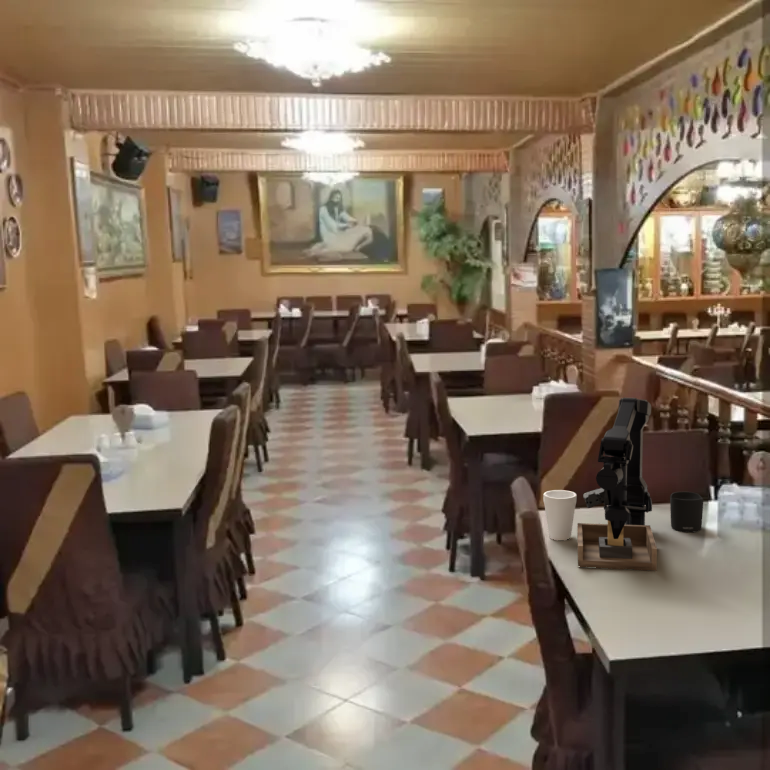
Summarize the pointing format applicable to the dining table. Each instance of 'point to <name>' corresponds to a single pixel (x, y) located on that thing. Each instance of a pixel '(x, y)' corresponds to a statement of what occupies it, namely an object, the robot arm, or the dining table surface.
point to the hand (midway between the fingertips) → (615, 536)
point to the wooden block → (611, 540)
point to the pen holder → (686, 511)
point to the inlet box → (616, 548)
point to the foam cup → (559, 513)
